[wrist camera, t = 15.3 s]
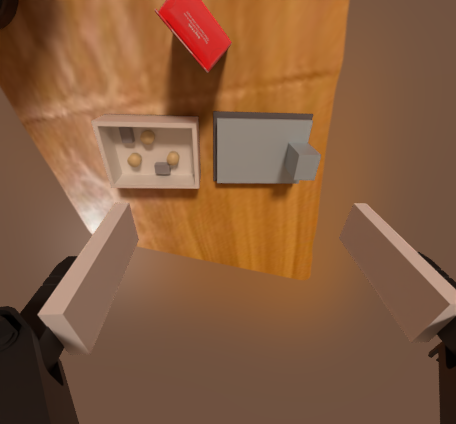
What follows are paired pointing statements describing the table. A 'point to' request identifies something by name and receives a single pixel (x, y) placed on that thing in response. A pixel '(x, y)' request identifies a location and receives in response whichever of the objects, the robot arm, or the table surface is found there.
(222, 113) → the mat
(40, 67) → the table surface
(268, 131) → the lid
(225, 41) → the ink box
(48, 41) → the table surface
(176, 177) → the tub
